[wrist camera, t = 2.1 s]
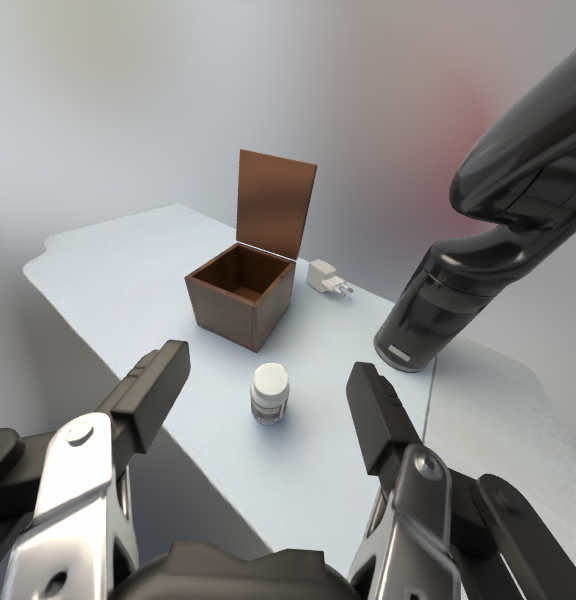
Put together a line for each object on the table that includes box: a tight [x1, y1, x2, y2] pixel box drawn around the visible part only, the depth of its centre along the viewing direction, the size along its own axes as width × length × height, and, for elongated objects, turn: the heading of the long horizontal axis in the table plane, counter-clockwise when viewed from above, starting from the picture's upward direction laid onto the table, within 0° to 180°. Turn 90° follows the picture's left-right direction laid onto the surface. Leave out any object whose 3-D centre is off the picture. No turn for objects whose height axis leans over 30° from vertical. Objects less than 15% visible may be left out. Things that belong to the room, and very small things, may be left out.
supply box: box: [184, 243, 296, 353], centre depth 38 cm, size 14×13×11 cm
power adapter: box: [306, 259, 353, 297], centre depth 48 cm, size 11×5×6 cm, turn 39°
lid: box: [236, 149, 317, 260], centre depth 35 cm, size 14×13×1 cm
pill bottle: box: [250, 362, 290, 425], centre depth 27 cm, size 5×5×8 cm
